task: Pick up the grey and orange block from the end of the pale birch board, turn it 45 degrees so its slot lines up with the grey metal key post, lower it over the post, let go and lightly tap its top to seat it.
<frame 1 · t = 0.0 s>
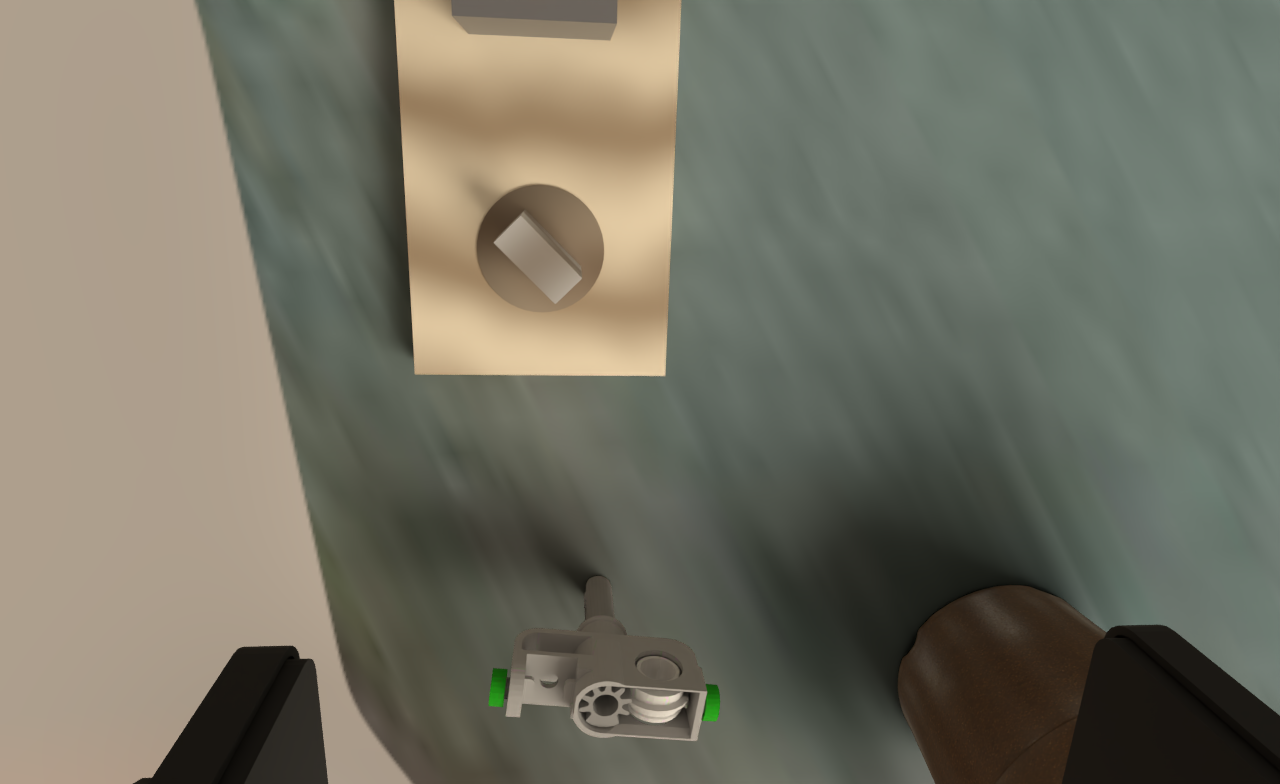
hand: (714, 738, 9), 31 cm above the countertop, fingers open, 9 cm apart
plant pot: (987, 664, 48), on the countertop
mechanical component: (598, 586, 44), on the countertop
key board: (541, 113, 36), on the countertop
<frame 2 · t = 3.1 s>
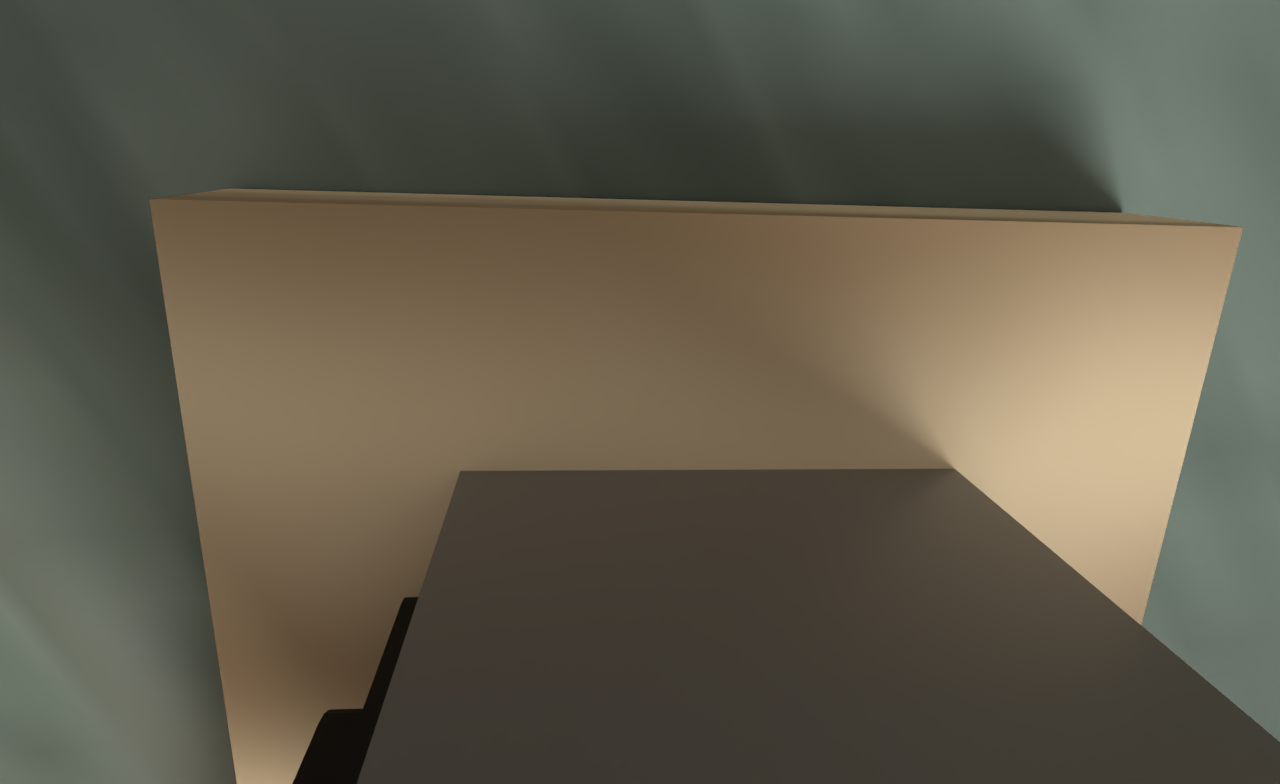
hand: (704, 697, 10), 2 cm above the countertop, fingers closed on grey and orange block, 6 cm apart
grey and orange block: (700, 681, 10), point 2 cm above the countertop, touching gripper, key board
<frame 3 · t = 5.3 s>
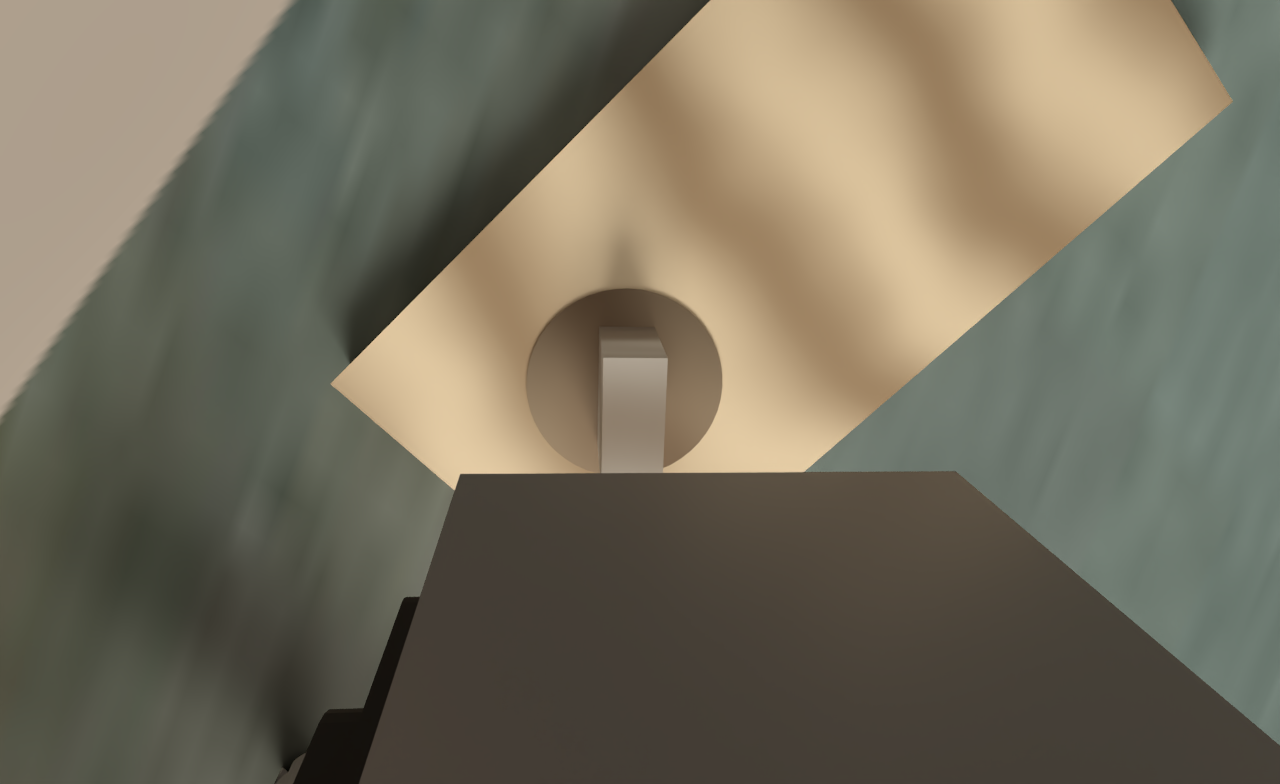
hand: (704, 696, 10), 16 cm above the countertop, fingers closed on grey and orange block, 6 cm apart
grey and orange block: (701, 684, 10), point 16 cm above the countertop, touching gripper
mechanical component: (306, 766, 29), on the countertop
key board: (761, 235, 24), on the countertop
when the fingers open (3 cm above the countertop, at t = 7.8 s): grey and orange block stays where it is, resting on key board.
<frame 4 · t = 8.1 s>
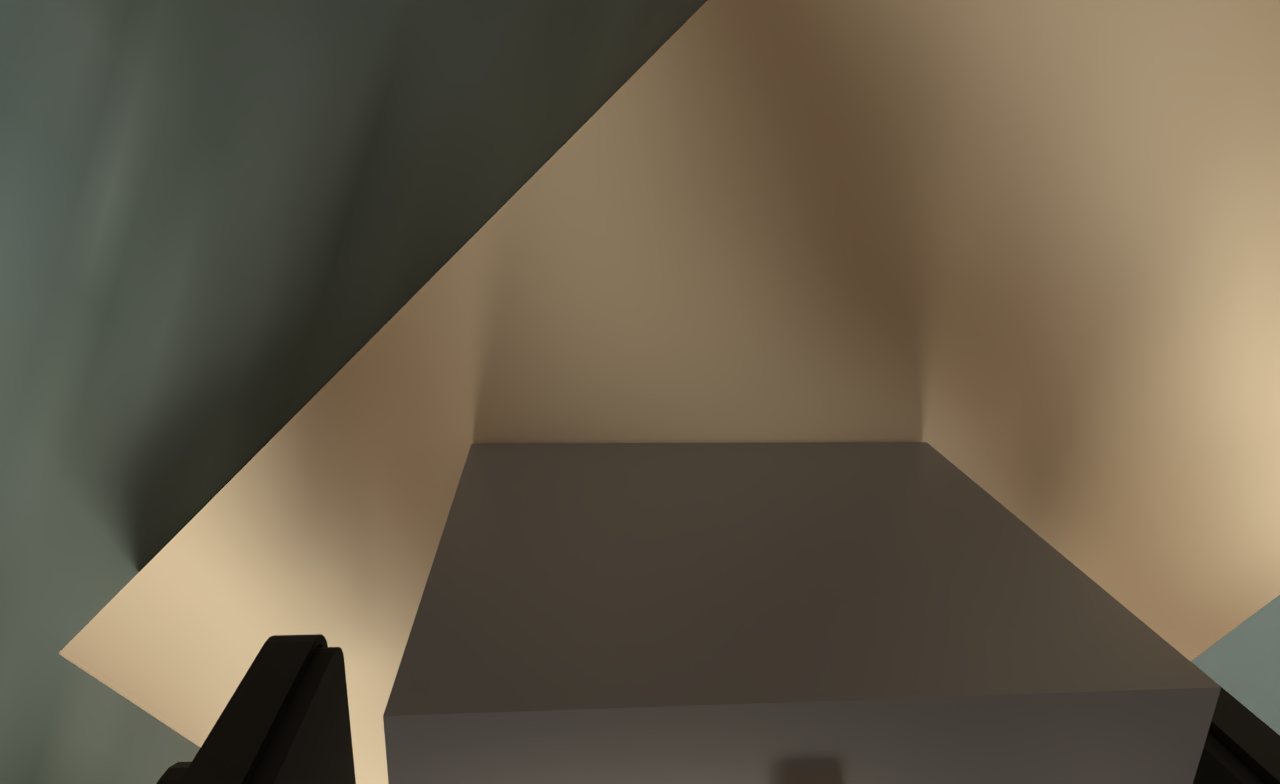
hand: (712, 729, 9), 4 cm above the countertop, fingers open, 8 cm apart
grey and orange block: (693, 640, 11), point 2 cm above the countertop, touching key board
key board: (954, 320, 12), on the countertop
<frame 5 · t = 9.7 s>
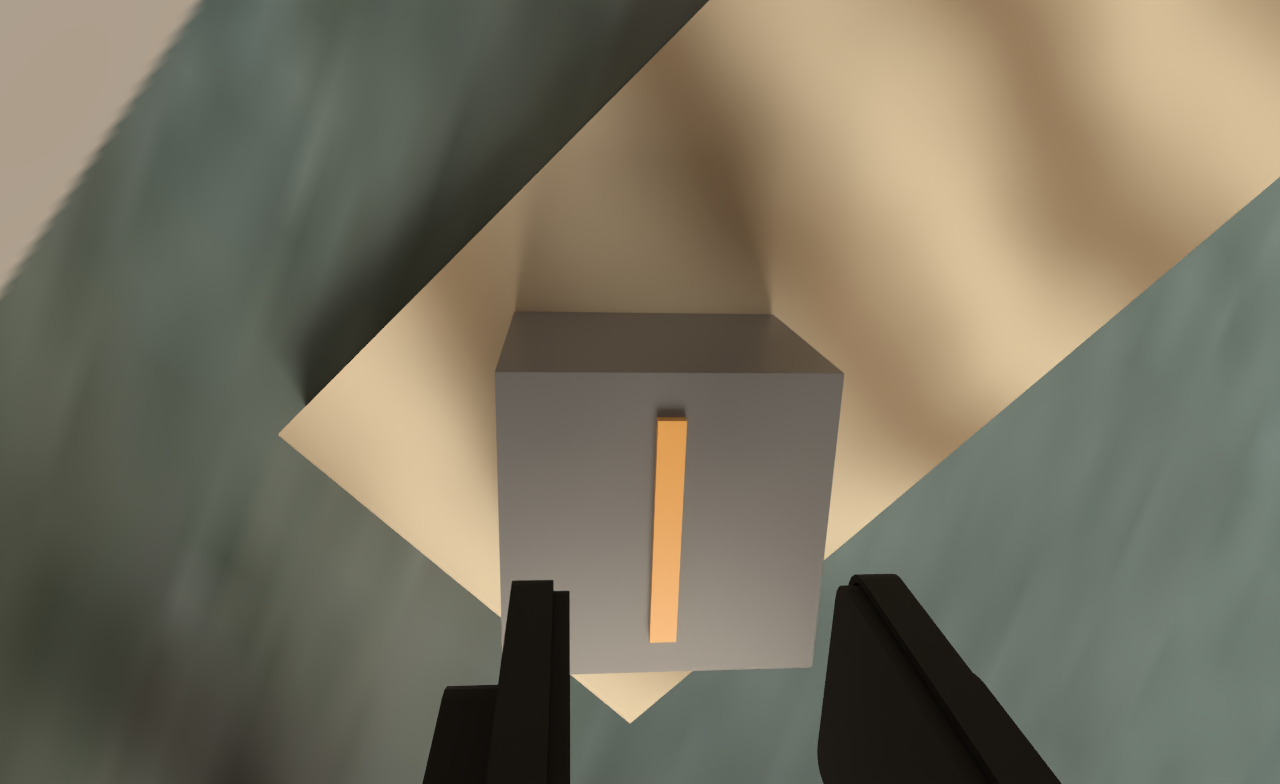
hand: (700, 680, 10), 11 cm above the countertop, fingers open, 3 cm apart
grey and orange block: (641, 434, 19), point 2 cm above the countertop, touching key board
key board: (803, 251, 20), on the countertop
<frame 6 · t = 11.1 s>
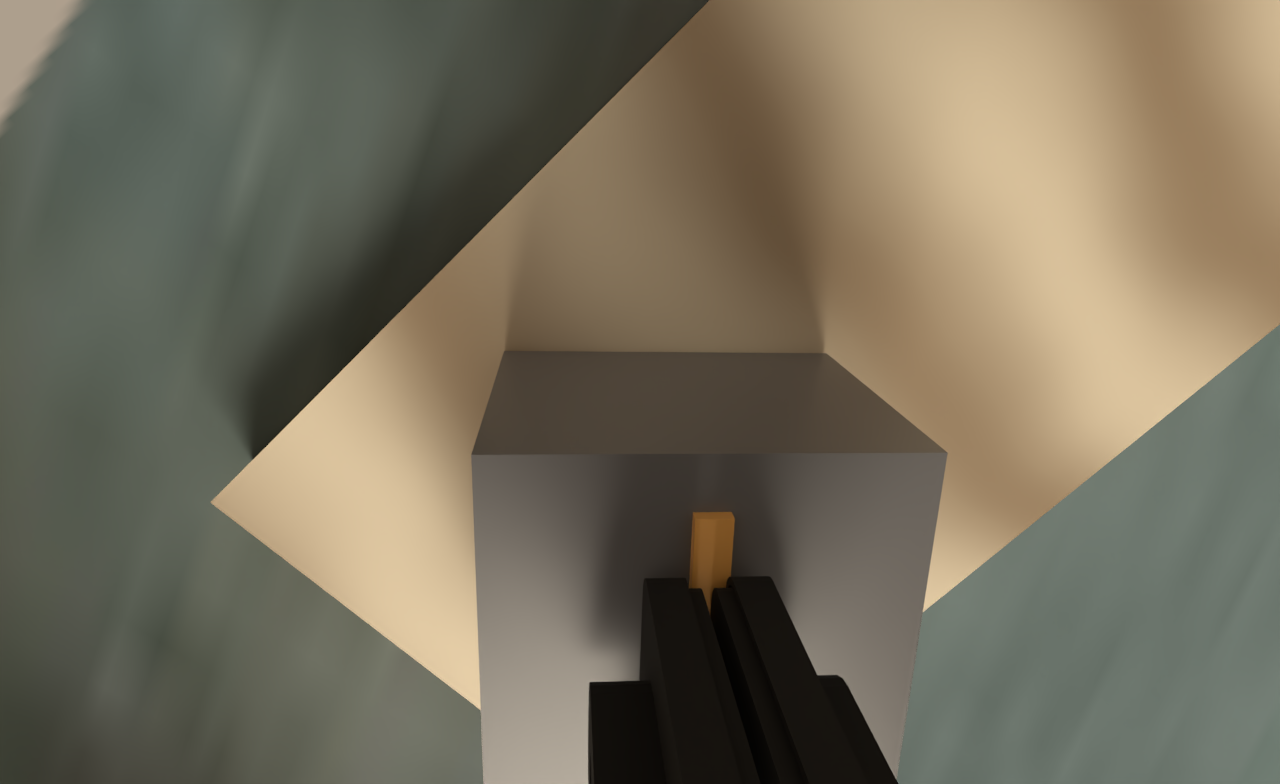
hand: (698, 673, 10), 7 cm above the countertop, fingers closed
grey and orange block: (662, 500, 15), point 2 cm above the countertop, touching gripper, key board
key board: (857, 272, 17), on the countertop
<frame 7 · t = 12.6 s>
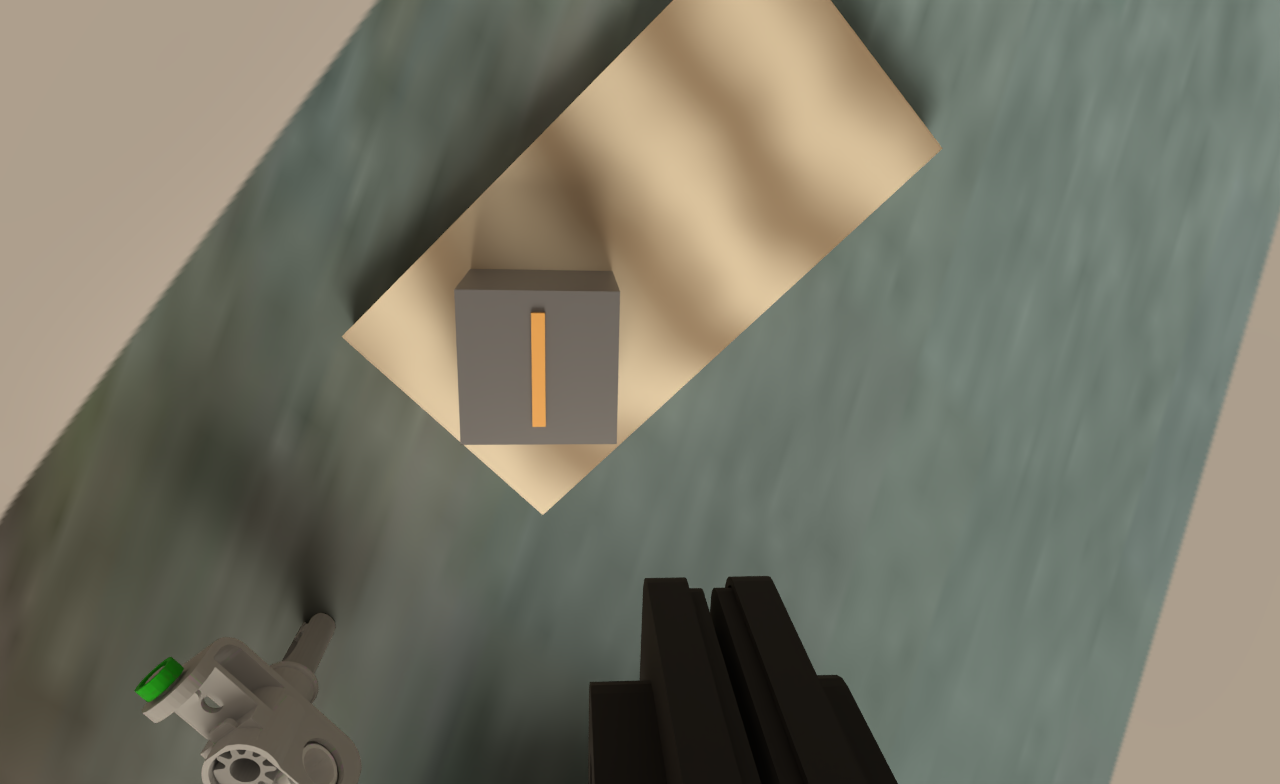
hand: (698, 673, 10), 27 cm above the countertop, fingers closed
grey and orange block: (542, 338, 34), point 2 cm above the countertop, touching key board
mechanical component: (321, 624, 40), on the countertop
key board: (637, 237, 35), on the countertop
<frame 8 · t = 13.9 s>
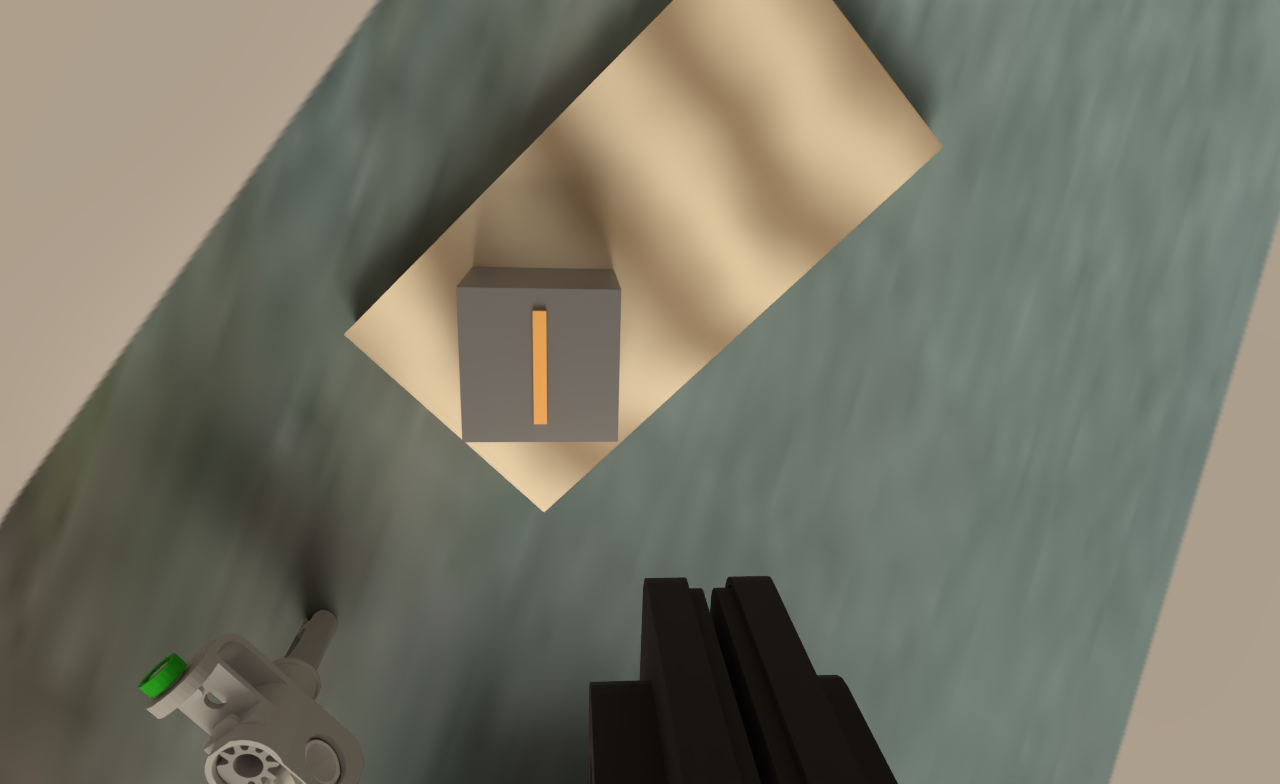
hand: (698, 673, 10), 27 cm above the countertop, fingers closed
grey and orange block: (544, 336, 34), point 2 cm above the countertop, touching key board
mechanical component: (323, 621, 40), on the countertop
key board: (638, 235, 36), on the countertop
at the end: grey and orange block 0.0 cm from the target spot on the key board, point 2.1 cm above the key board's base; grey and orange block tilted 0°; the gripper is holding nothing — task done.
